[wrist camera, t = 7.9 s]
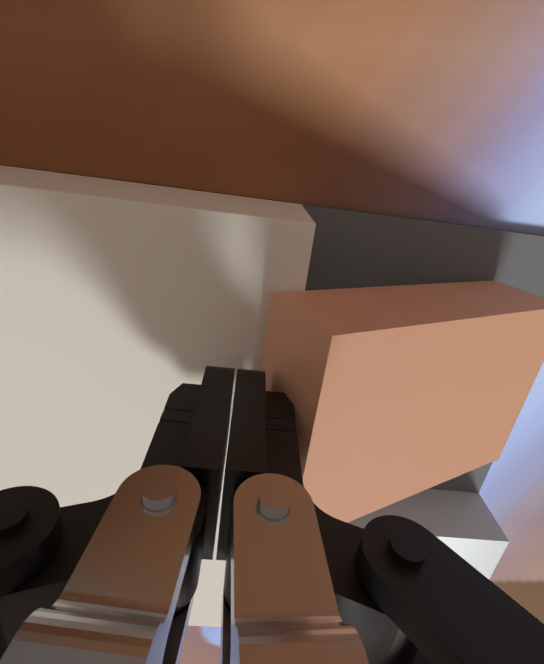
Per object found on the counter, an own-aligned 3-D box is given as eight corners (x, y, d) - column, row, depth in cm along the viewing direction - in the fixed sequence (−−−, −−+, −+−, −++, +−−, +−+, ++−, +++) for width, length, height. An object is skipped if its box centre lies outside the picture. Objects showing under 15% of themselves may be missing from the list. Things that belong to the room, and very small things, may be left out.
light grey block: (478, 492, 18) (508, 541, 16) (451, 552, 20) (475, 604, 18) (328, 480, 18) (338, 529, 15) (313, 542, 19) (319, 594, 17)
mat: (585, 240, 14) (591, 242, 14) (445, 553, 20) (448, 558, 20) (301, 204, 13) (302, 205, 13) (251, 540, 20) (251, 545, 19)
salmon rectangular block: (493, 280, 14) (568, 305, 12) (442, 419, 16) (497, 459, 14) (271, 292, 10) (332, 336, 8) (246, 478, 12) (288, 547, 10)
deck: (301, 204, 13) (316, 224, 9) (251, 540, 20) (248, 628, 16) (-83, 154, 12) (-229, 155, 9) (-2, 522, 19) (-66, 611, 15)
